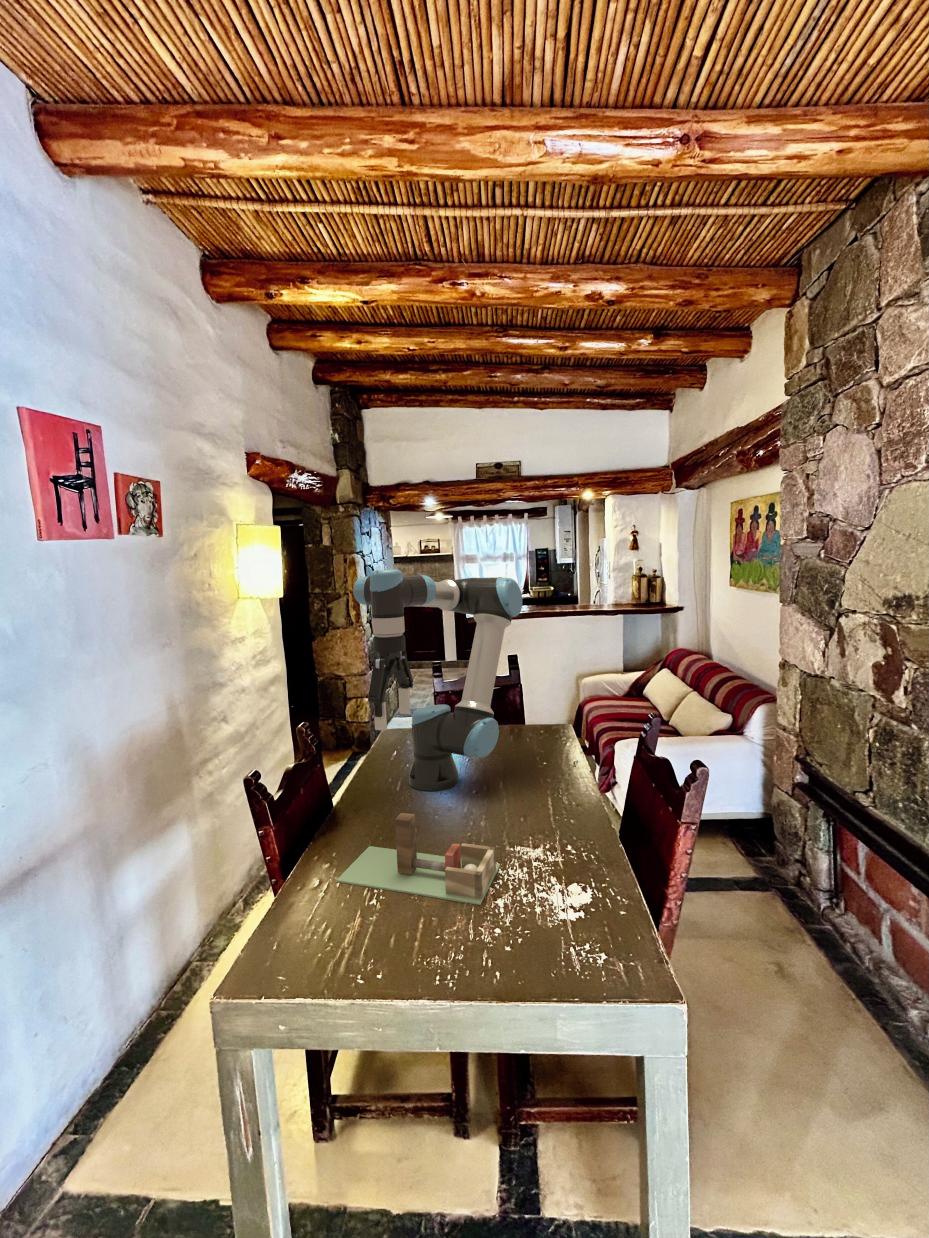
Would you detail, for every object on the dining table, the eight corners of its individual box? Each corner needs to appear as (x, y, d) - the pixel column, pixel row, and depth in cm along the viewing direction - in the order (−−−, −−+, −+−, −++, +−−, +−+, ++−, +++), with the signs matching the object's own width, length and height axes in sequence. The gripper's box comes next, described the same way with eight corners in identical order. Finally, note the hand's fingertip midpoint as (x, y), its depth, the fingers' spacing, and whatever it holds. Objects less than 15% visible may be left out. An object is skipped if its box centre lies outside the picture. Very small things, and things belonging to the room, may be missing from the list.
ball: (482, 876, 123) (466, 876, 124) (479, 860, 123) (464, 860, 124) (477, 885, 120) (461, 885, 121) (474, 869, 119) (458, 869, 121)
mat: (369, 847, 138) (369, 845, 138) (500, 865, 128) (500, 863, 128) (336, 881, 124) (336, 879, 124) (480, 905, 114) (480, 903, 114)
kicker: (405, 862, 129) (402, 810, 128) (461, 870, 125) (458, 817, 124) (395, 874, 125) (393, 821, 123) (453, 883, 121) (451, 827, 119)
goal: (463, 864, 128) (462, 843, 128) (495, 869, 126) (495, 847, 126) (445, 893, 118) (444, 869, 117) (480, 898, 116) (480, 874, 115)
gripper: (396, 627, 152) (400, 707, 154) (348, 642, 129) (354, 736, 131) (423, 627, 150) (427, 708, 152) (379, 642, 126) (385, 738, 129)
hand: (393, 721), depth 142 cm, fingers open, 13 cm apart
